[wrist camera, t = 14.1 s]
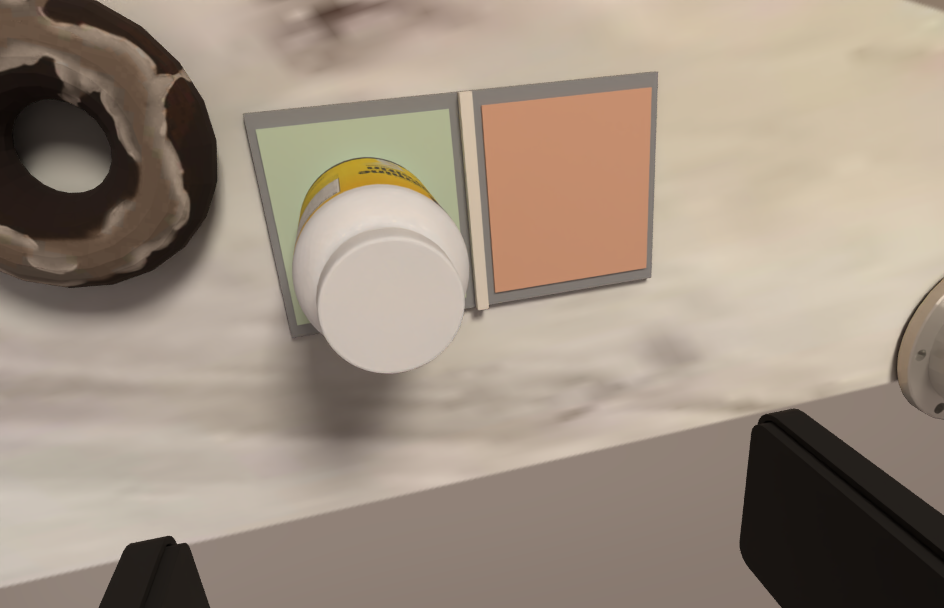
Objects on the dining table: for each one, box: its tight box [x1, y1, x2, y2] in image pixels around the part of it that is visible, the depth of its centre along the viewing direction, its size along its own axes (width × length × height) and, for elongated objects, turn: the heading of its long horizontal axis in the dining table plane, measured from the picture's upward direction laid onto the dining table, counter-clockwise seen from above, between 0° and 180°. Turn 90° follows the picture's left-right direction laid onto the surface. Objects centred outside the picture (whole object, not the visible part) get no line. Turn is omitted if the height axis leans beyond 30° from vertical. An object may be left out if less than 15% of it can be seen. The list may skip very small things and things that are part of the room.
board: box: [243, 72, 658, 338], centre depth 31 cm, size 20×11×1 cm, turn 95°
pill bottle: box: [292, 157, 469, 374], centre depth 24 cm, size 6×6×12 cm
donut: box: [0, 0, 217, 288], centre depth 24 cm, size 12×12×4 cm
